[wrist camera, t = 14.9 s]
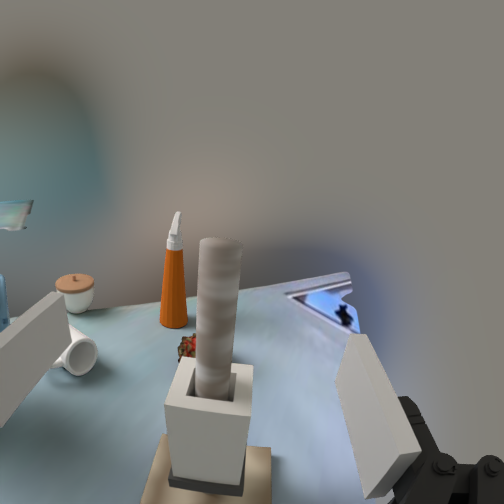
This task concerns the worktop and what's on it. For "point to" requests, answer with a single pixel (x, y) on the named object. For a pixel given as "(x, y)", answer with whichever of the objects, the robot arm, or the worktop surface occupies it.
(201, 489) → the thin dark grey plate
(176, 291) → the spray bottle
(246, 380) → the sleeve
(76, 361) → the mug
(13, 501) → the worktop surface
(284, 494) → the worktop surface
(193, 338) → the dragon fruit
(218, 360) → the pipe stand
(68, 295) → the lidded jar
